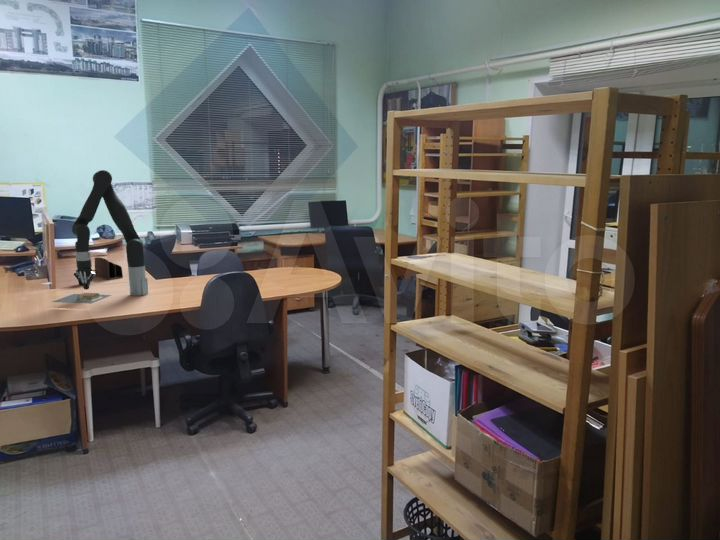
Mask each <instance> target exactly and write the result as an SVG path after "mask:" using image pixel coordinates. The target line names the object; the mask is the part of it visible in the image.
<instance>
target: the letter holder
mask: <svg viewBox="0 0 720 540" xmlns="http://www.w3.org/2000/svg"><path fill="white" fill-rule="evenodd" d="M94 270H96V271H97V275H96V276H95V277H97V278H101V279H104V280H107V281H110V280H117V279H123V278H124V275H123V268H122V266H121V265H119V264H116V263H113V262H112V261H110V260H107V259H105V258H103V257H94ZM96 271H94V273H96Z"/></svg>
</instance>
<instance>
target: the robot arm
mask: <svg viewBox="0 0 720 540" xmlns="http://www.w3.org/2000/svg"><path fill="white" fill-rule="evenodd" d="M112 181H113V176H112V174H111V173H110V172H109V171H107V170H104V169H102V170H98V171H96V172H95V173H94V174H93V176H92V182H93V185H92V187H91V188H92V189H91V191H90V193H89V195H88V197H87V199H86V200H85V202H84V204H83V206H82V208H81V211H80V213H79V215H78V216H77V218H76V220H75V221H74V222H73V225H72V227H71V232H72V234H73V235H74V236H75V237H77V238H76V241H75V243H74V244H75V245H74V247H75V262H76V263H75V265H76V269H77V272H76V271H75V273H73V276H74V277H75V278H76V279H77V282H78V281H79V282H82V283H83V285H82V288H83V289H84V290H89V289H90V284H89V282H90V283H91V282H92V281H93V280H94V279H95V278H96V277H97V276H96V273H95V271H92V270H93V269H92V265H93V264H92V256H91V250H90V239H91V238H90V237H91V230H90V227H89V226H88V225H89V223H91V222H92V221H93V220H94V217H95V215H96V213H97V210H98V209H99V205H100V203H101V200H102V199H103V201H104V204H105V206H106V209H107V211H108V213H109V215H110V217H111V219H112V221H113V223H114V224H115V226H116V227H117V229H118V230H119V231H120V232H121V234H122V236H123V238H124V240H125V242H126V244H125V245H126V246H125V248H126V249H125V250H126V261H127V267H128V281H129V282H128V283H129V293H130V294H129V295H130V296H134V297H138V296H145V295H147V294H149V283H148V277H147V274H146V264H145V255H144V253H145V252H144V247H145V245H144V242H143V240H142V239H141V238H140V236H139V234H138V233H137V231H136V229H135V228H134V227H135V226H134V223H133V222H132V218H131V216H130V214H129V212H128V210H127V208H126V205H124V203H123V201H122V200H121V199H120V198H119V196H118V195H117V194H116V192H115V190H114V188H113V185H112ZM79 282H78V283H79Z"/></svg>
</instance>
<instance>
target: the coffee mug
mask: <svg viewBox="0 0 720 540" xmlns="http://www.w3.org/2000/svg"><path fill="white" fill-rule="evenodd" d="M77 269H78V268H76V269H75V273H76V272H77ZM95 271H96V270H95V269H92V272H95ZM96 275H97V271H96ZM77 282H78V286H83V283H82V282H79V281H78V280H77ZM89 285H91V282H89Z"/></svg>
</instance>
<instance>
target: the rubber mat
mask: <svg viewBox="0 0 720 540" xmlns="http://www.w3.org/2000/svg"><path fill="white" fill-rule="evenodd" d="M80 294H81V293H73V294H70V295H67V296H64V297H62V298H58V299H55V300H53V301H51V303H63V304H64V303H65V304H67V303H69V304H95V302H98V301H101V300H104V299H106V298H109V297H110V296H112V295H111V294H99V298H97V299H94V300H77V295H80Z"/></svg>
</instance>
